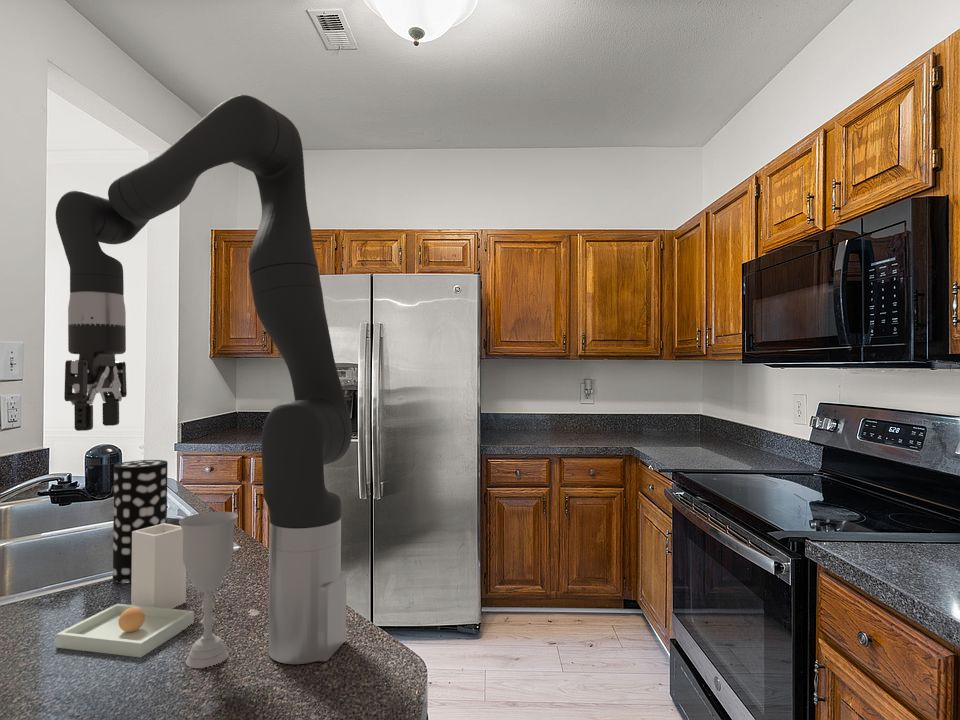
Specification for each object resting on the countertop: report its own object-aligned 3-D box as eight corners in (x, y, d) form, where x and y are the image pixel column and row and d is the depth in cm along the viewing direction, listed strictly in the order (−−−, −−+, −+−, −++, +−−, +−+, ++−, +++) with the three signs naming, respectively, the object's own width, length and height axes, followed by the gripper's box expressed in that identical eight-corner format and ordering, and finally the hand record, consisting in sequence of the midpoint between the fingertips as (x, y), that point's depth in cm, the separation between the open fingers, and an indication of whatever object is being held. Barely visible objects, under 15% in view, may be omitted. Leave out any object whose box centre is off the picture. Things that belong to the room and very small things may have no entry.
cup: (185, 603, 93) (186, 527, 93) (153, 615, 88) (154, 536, 88) (163, 596, 96) (164, 523, 96) (131, 609, 91) (132, 531, 91)
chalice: (212, 675, 71) (214, 527, 72) (163, 669, 73) (165, 524, 73) (247, 647, 79) (249, 513, 79) (202, 642, 80) (204, 510, 80)
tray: (193, 623, 86) (193, 611, 86) (140, 657, 76) (140, 643, 76) (117, 615, 88) (117, 603, 88) (56, 647, 78) (56, 633, 78)
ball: (140, 598, 84) (126, 613, 84) (122, 607, 80) (108, 623, 81) (154, 615, 83) (140, 630, 83) (137, 625, 80) (123, 641, 80)
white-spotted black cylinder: (132, 566, 110) (133, 459, 110) (175, 567, 109) (176, 460, 109) (101, 583, 101) (103, 467, 101) (148, 584, 101) (150, 467, 101)
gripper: (101, 319, 85) (102, 431, 85) (142, 326, 99) (143, 423, 99) (44, 319, 84) (44, 433, 83) (94, 327, 98) (94, 424, 98)
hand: (98, 427), depth 91 cm, fingers open, 8 cm apart
